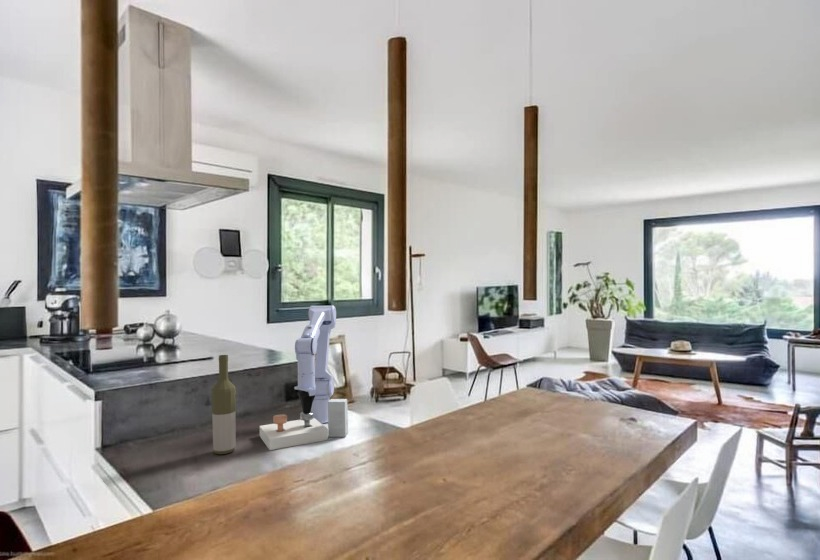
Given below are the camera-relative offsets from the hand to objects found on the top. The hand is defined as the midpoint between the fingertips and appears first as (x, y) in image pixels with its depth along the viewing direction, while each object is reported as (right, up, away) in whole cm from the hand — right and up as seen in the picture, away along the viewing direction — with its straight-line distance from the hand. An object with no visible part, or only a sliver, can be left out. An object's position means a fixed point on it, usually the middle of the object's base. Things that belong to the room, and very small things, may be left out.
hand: (306, 412), depth 157 cm
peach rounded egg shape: (-8, -5, -4) cm, 10 cm away
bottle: (-23, -8, -14) cm, 28 cm away
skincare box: (+11, -8, +1) cm, 13 cm away
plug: (0, -5, 0) cm, 5 cm away
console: (-4, -8, -1) cm, 9 cm away
